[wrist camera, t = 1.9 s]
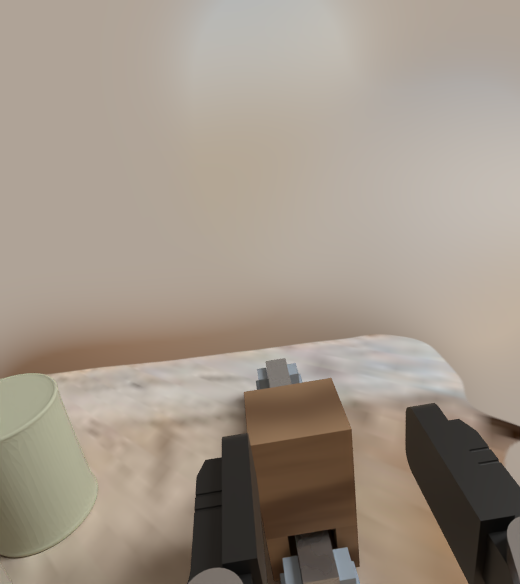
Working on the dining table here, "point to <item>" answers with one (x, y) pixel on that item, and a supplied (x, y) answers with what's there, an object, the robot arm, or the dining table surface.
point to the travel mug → (4, 576)
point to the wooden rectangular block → (302, 466)
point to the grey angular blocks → (345, 566)
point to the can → (39, 468)
